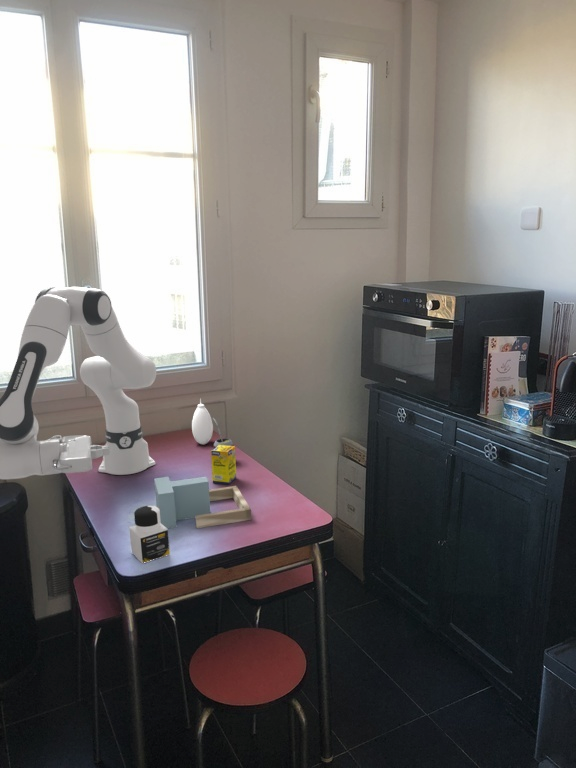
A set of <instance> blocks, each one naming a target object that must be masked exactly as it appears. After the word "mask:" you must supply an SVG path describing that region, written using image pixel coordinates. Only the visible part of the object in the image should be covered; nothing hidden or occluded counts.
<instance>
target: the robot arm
mask: <svg viewBox="0 0 576 768" xmlns="http://www.w3.org/2000/svg"><path fill="white" fill-rule="evenodd" d="M70 326H71V327H75V326H80V327H81V330H82V333H83V335H84V338H85V340H86V343H87V345H88V347H89V349H90V350H91V352H92V353H93V354H94V355H95V356H91V357H88V358H85V359H84V360H83V362H82V363H81V364H80V368H79V375H80V379H81V381H82V383H83V384H84V385H85V386H87V387H88V388H90V390H91V391H93V392H94V394H95V396H97V398H98V399H99V402H100V404H101V405H102V409H103V412H104V417H105V418H104V419H105V427H106V429H105V435H104V436H105V440H106V442H105V444H104V445H99V444H92V437H91V436H90V435H85V434H84V435H83V434H82V435H66V436H63V437H62V435H61V434H60V435H53V436H52V437H50V438H49V439H46V440H45V439H44V440H38V434H39V431H40V429H39V427H40V426H39V422H38V419H37V418H36V416H35V414H34V411H33V398H34V395H35V392H36V389H37V386H38V384H39V380H40V377H41V375H42V372H43V370H44V369H45V368H47V367H50V366H52V365H55V364H56V363H57V362H58V361H59V359H60V357H61V356H62V353H63V350H64V348H65V346H66V342H67V339H68V334H69V329H70ZM11 372H12V373H11V375H10V378H9V381H8V384H7V386H6V389H5V391H4V393H3V394H2V396H1V397H0V480H17V479H25V478H27V477H31V476H47V475H48V476H49V475H55V474H56V475H57V474H73V473H86V472H89V471H91V470H92V469H93V460H94V459H98V458H101V457H102V462H101V464H100V465H99V467H98V472H99V473H106V474H110V475H117V476H124V475H131V474H132V475H133V474H136V473H140V472H142V471H144V470H146V469H147V468H150V467H152V466H155V465H156V461H155V460H154V459H153V458H152V457H151V456H150V453H149V444H148V443H149V442H147V441H146V440H145V439H144V438H143V436H144V435H143V428H142V425H141V421H140V410H139V405H138V403H137V402H136V401H135V400H134V399H132V398H131V397H129V396H127V395H126V394H125V392H124V389H125V390H128V389H129V390H130V389H131V390H138V389H143V388H147V387H151V386H152V385H153V384H154V382H155V380H156V377H157V367H156V365H155V363H154V360H152V359H151V358H149V357H147V356H146V355H143V354H142V353H141V352H139V351H138V350H137V349H135V348H134V346H133V345H131V343H130V342H129V341H128V340H127V339H126V337H125V334H124V332H123V331H122V327H121V325H120V323H119V321H118V318H117V315H116V313H115V310H114V308H113V306H112V301H111V298H110V296H108V294H107V293H106V292H105V291H103V290H102V289H99V288H94V287H91V288H87V287H81V286H71V287H69V286H67V287H65V286H64V287H56V286H55V287H47V288H44V289H42V290H41V291H40V292H39V293H38V294H37V296H36V298H35V300H34V304H33V306H32V308H31V310H30V312H29V313H28V316H27V319H26V322H25V324H24V327H23V330H22V334H21V338H20V343H19V349H18V355H17V359H16V361H15V365H14V368H13V370H12V371H11Z"/></svg>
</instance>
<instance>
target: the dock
mask: <svg viewBox="0 0 576 768" xmlns="http://www.w3.org/2000/svg"><path fill="white" fill-rule="evenodd" d="M209 498H210V502H213V501H221V500H227V499H228V500H229V499H233V500H234V502H235V504H236V506H237V507H238V508H237V509H236V508H235V509H230V510H224V511H223V510H222V511H215V512H210V514H203V515H197V516H195V528H196V529H203V528H208V527H212V526H213V527H215V526H220V525H226V524H232V523H239V522H245V521H251V520H252V509H251V507H250V506H249V504H248V502H247V501H246V499H245V498H244V496H243V494H242V493H241V491H240V489H239V488H238V486H237V485H233V486H227V487H226V486H225V487H219V488H212V489H209Z"/></svg>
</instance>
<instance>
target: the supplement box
mask: <svg viewBox="0 0 576 768" xmlns="http://www.w3.org/2000/svg"><path fill="white" fill-rule="evenodd" d="M210 455H211V456H210V457H211V458H210V459H211V472H212V475H211V476H212V484H222V485H230V484H231V483H232V482H233V481H235V480H236V479H237V464H236V463H237V461H236V446H235V445H234V446H226V445H218V446H217V447H216V448H214V449H211V450H210Z"/></svg>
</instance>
